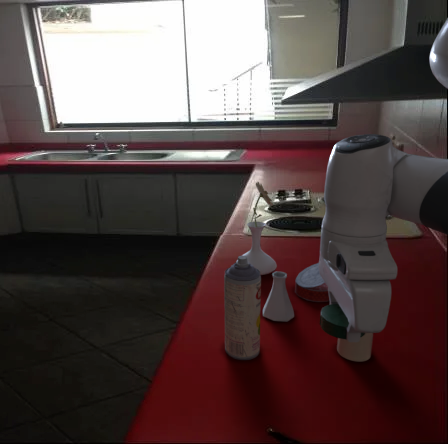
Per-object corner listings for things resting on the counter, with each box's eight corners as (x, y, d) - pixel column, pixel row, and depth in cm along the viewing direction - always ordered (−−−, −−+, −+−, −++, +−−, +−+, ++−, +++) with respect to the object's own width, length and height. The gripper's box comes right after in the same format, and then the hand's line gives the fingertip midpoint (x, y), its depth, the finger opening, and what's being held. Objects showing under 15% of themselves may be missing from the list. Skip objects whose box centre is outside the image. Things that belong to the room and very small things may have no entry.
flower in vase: (275, 280, 111) (278, 189, 104) (232, 277, 115) (232, 188, 107) (278, 261, 123) (280, 178, 115) (239, 258, 126) (239, 178, 119)
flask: (298, 310, 96) (300, 270, 93) (290, 325, 91) (292, 284, 87) (267, 303, 100) (268, 265, 97) (257, 318, 94) (258, 277, 91)
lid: (321, 337, 65) (322, 324, 65) (317, 314, 71) (318, 302, 71) (369, 341, 63) (371, 328, 63) (361, 317, 70) (362, 305, 69)
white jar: (367, 344, 83) (373, 294, 79) (373, 363, 77) (380, 310, 74) (334, 341, 84) (339, 292, 81) (339, 359, 79) (343, 308, 75)
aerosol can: (262, 359, 80) (264, 264, 74) (227, 360, 80) (226, 265, 74) (256, 339, 86) (257, 249, 80) (223, 340, 87) (222, 251, 81)
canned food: (327, 318, 101) (325, 294, 94) (288, 302, 107) (284, 278, 100) (347, 285, 105) (347, 259, 99) (309, 271, 112) (307, 246, 105)
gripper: (312, 223, 73) (307, 294, 77) (352, 274, 54) (343, 364, 58) (349, 223, 72) (342, 294, 77) (404, 274, 53) (390, 365, 57)
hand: (343, 325), depth 67 cm, fingers closed on lid, 7 cm apart
